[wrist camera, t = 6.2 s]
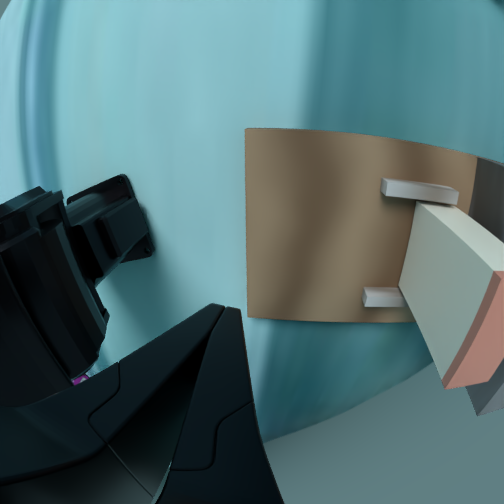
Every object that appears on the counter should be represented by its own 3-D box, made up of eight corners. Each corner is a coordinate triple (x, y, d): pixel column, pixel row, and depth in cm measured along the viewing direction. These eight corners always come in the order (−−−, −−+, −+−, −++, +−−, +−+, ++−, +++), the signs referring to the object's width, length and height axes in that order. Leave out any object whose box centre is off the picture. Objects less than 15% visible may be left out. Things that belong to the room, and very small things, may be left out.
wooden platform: (250, 305, 22) (221, 429, 13) (248, 127, 17) (188, 146, 7) (463, 309, 20) (516, 403, 11) (503, 163, 14) (608, 216, 5)
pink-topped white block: (398, 284, 18) (444, 389, 10) (416, 200, 16) (501, 279, 7) (433, 285, 18) (488, 381, 10) (454, 205, 15) (542, 279, 7)
